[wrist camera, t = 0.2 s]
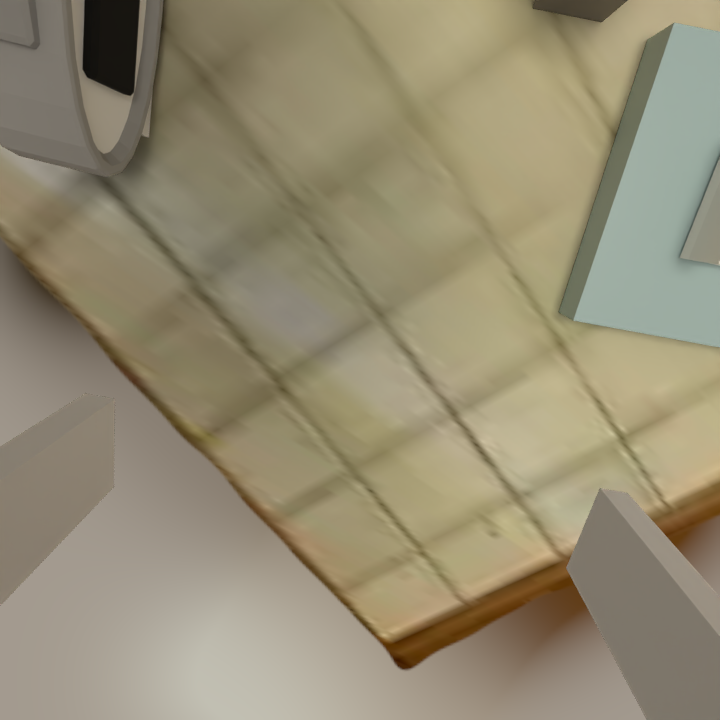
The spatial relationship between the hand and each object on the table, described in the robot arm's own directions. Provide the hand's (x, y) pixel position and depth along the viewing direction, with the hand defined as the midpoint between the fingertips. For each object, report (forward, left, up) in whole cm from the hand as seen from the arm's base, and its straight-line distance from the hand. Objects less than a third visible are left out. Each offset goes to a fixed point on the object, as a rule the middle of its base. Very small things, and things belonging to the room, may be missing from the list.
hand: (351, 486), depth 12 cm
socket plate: (-12, +26, -28) cm, 40 cm away
